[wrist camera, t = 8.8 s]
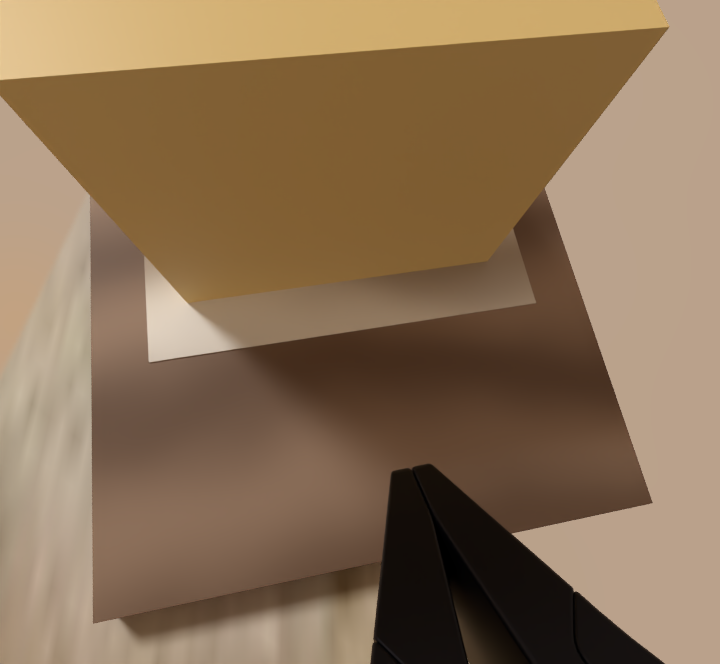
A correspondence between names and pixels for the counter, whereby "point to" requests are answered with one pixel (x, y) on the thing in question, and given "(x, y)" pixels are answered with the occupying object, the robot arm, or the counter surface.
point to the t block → (315, 123)
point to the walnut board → (335, 414)
